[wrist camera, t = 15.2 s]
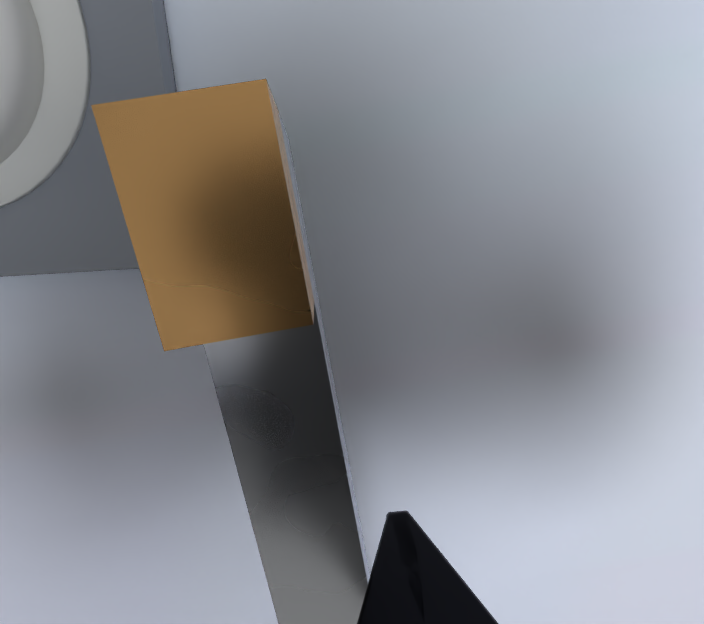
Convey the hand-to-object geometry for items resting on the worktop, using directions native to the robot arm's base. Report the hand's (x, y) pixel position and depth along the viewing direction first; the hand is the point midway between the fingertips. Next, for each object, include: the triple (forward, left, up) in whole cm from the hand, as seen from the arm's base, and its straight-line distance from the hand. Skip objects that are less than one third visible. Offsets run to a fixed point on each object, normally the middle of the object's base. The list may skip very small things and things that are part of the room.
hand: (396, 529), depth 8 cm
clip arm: (-2, +1, -1) cm, 2 cm away
